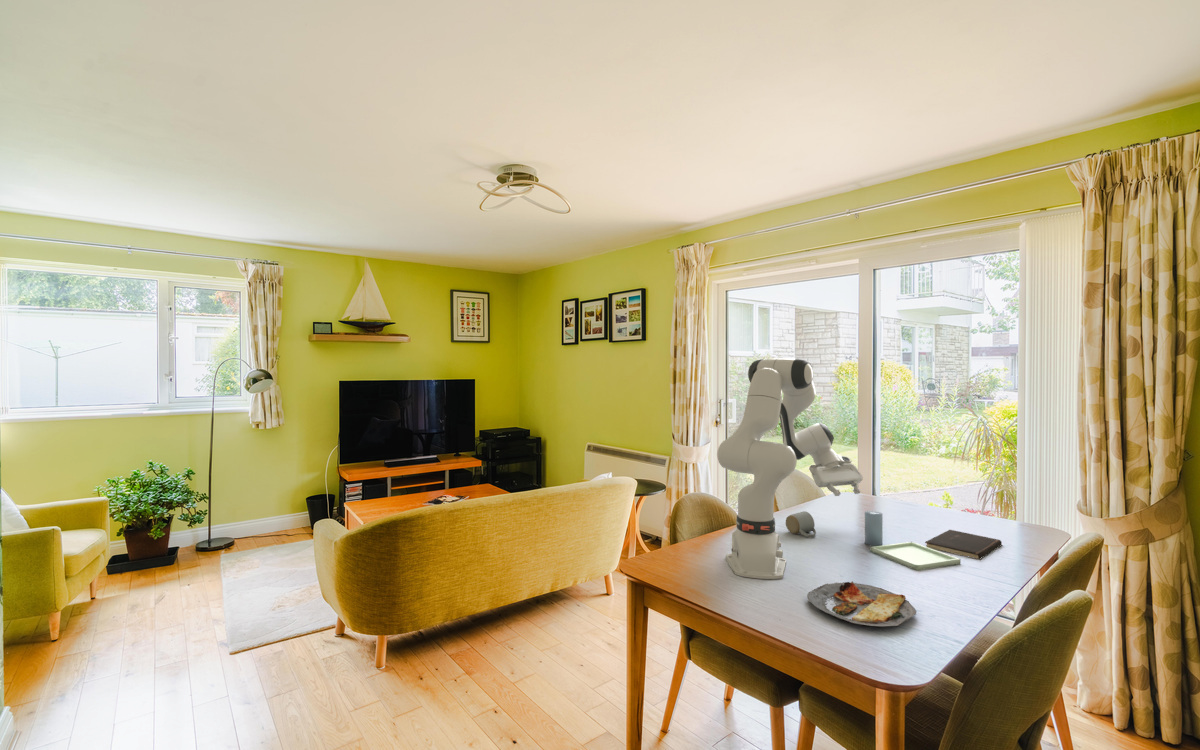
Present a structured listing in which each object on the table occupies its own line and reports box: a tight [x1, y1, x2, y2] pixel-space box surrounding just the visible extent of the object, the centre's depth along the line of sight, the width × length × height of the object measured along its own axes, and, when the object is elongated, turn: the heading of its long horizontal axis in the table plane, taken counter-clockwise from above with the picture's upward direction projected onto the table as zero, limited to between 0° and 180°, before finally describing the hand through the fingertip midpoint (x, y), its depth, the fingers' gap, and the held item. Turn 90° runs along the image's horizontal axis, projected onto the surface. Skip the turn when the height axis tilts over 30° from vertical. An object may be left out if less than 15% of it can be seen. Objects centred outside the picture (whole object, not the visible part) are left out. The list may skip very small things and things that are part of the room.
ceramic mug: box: [785, 510, 817, 538], centre depth 199 cm, size 11×8×8 cm
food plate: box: [806, 581, 917, 627], centre depth 136 cm, size 25×23×4 cm
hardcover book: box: [924, 529, 1002, 560], centre depth 184 cm, size 16×23×2 cm
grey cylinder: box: [864, 510, 884, 547], centre depth 187 cm, size 6×6×11 cm
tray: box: [869, 541, 962, 571], centre depth 173 cm, size 18×18×2 cm
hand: (848, 494), depth 198 cm, fingers open, 8 cm apart
